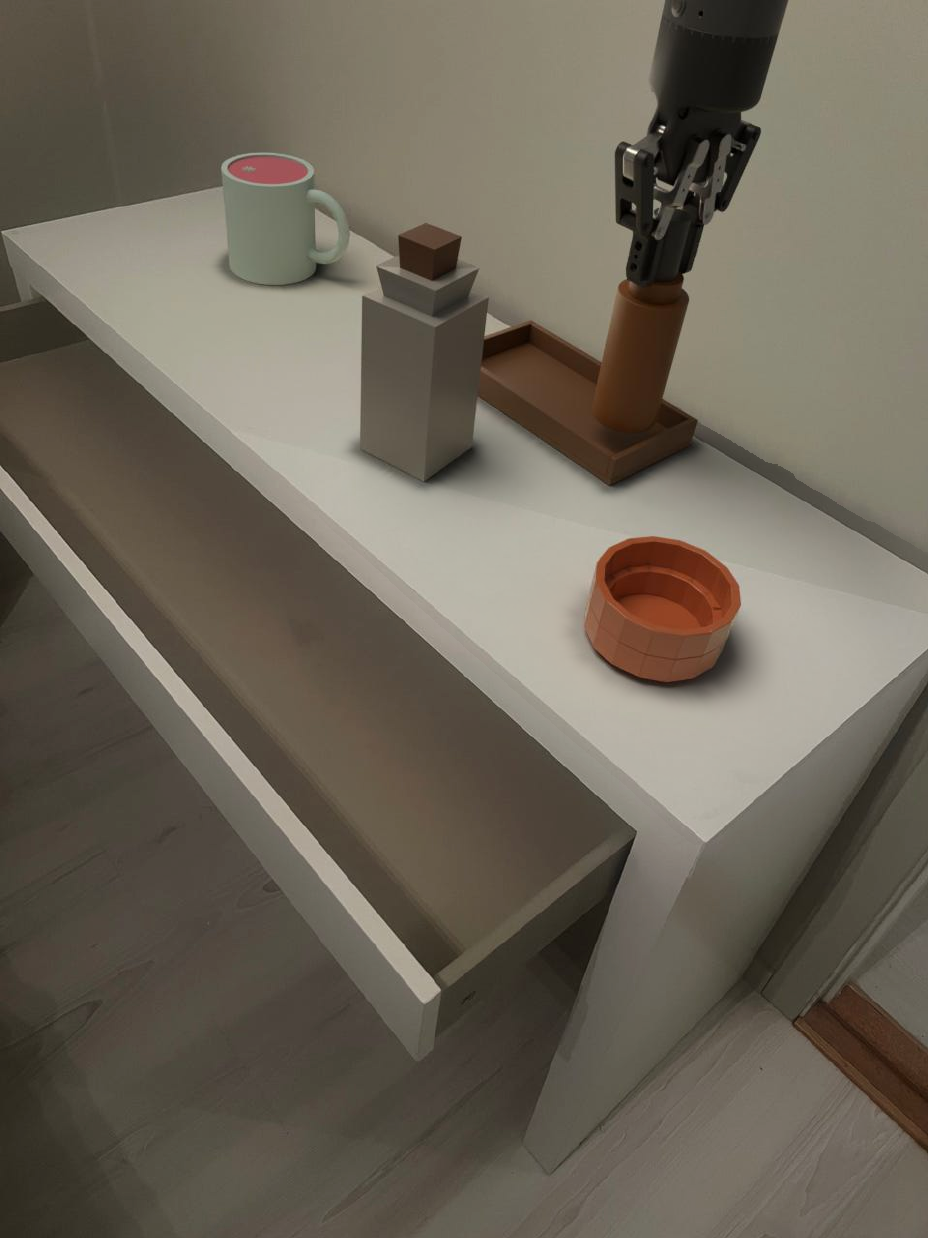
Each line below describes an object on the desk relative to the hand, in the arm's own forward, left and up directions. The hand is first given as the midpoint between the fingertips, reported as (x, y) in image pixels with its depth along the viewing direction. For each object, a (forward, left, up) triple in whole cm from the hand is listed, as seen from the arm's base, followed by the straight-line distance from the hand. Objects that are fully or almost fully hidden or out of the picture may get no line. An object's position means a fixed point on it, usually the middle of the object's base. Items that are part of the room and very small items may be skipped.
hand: (658, 274), depth 71 cm
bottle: (0, 0, -12) cm, 12 cm away
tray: (+5, -5, -15) cm, 17 cm away
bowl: (-3, +23, -15) cm, 28 cm away
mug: (+36, -24, -16) cm, 46 cm away
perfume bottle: (+17, +5, -16) cm, 24 cm away
